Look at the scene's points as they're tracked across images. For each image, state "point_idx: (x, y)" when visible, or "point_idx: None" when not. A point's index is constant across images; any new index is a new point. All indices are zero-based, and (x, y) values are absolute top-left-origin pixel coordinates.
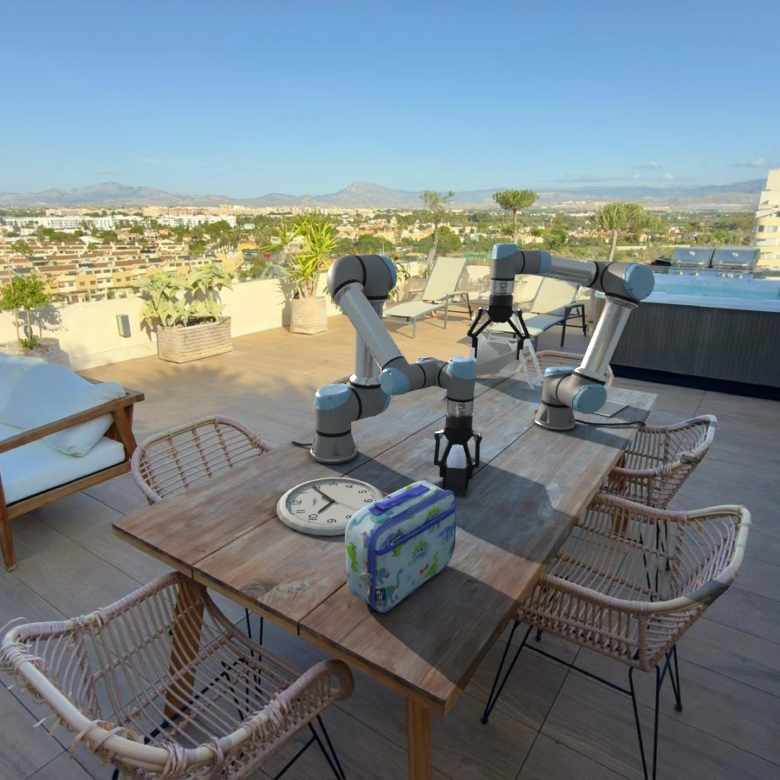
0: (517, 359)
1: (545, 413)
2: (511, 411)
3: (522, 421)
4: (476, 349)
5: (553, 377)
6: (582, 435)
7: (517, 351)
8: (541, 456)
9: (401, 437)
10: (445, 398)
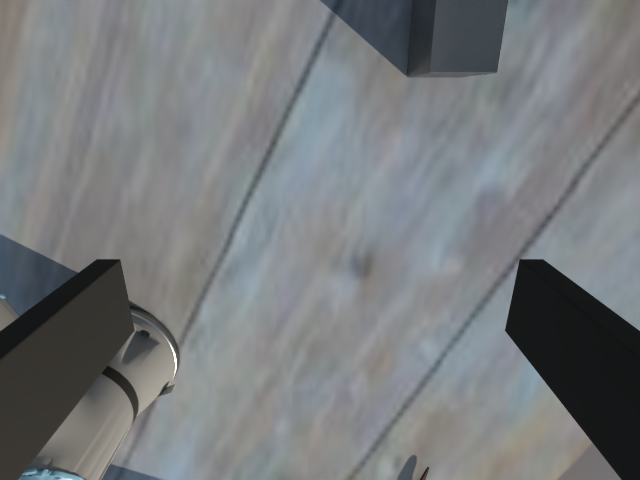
0: (107, 262)
1: (134, 354)
2: (242, 421)
3: (213, 358)
4: (591, 307)
5: (36, 459)
6: (43, 285)
7: (60, 306)
8: (160, 104)
9: (589, 187)
10: (422, 476)
